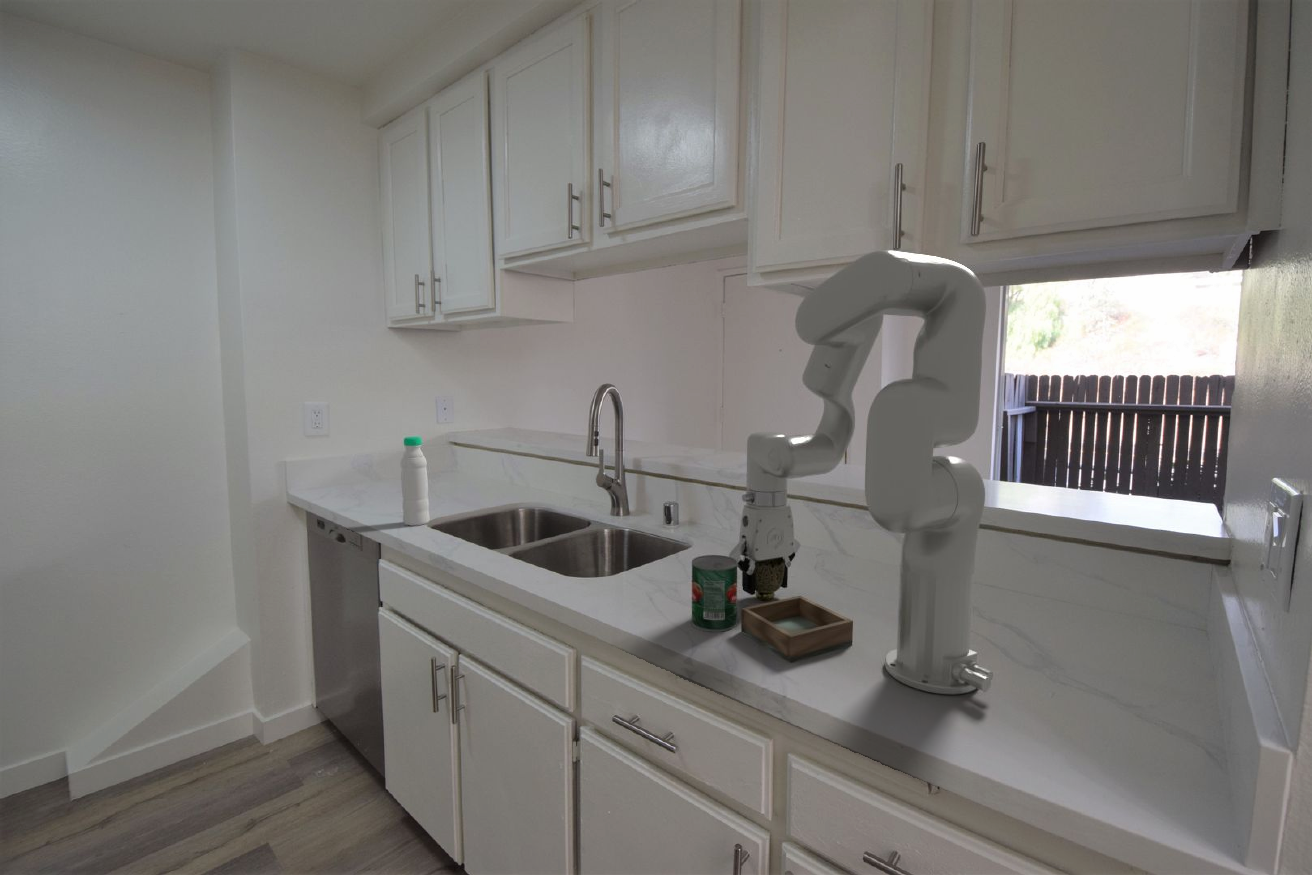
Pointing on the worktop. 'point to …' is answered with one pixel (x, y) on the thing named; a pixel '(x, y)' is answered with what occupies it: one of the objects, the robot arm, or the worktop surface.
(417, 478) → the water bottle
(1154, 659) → the worktop surface
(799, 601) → the walnut box
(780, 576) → the olive textured bell shape
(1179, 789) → the worktop surface
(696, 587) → the canned tomato
